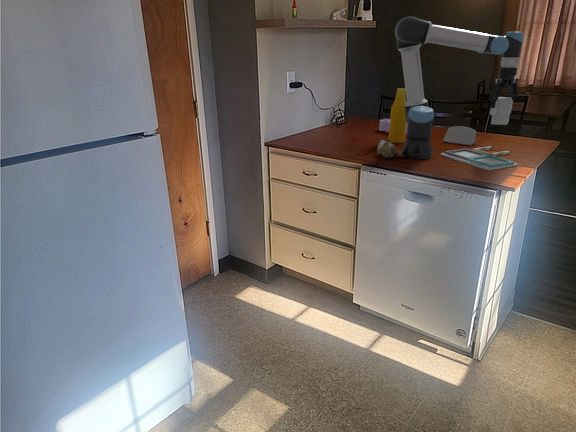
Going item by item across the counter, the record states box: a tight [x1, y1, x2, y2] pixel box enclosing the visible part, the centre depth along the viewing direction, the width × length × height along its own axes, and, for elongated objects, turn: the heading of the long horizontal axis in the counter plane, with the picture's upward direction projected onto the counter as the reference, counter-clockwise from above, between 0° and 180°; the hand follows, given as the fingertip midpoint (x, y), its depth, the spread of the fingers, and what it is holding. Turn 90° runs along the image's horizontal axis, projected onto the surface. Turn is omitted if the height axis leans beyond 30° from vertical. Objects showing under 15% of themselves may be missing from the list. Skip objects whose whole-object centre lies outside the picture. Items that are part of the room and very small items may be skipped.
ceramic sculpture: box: [376, 139, 404, 159], centre depth 215 cm, size 11×9×15 cm
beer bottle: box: [387, 87, 407, 144], centre depth 242 cm, size 9×9×29 cm
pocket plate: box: [440, 148, 519, 172], centre depth 209 cm, size 18×30×2 cm, turn 25°
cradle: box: [471, 145, 511, 157], centre depth 222 cm, size 13×12×2 cm
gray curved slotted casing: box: [443, 125, 477, 146], centre depth 244 cm, size 17×5×10 cm, turn 50°
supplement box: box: [490, 96, 512, 126], centre depth 216 cm, size 7×7×13 cm
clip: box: [378, 118, 408, 136], centre depth 271 cm, size 20×12×7 cm, turn 45°
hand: (500, 114), depth 216 cm, fingers closed on supplement box, 10 cm apart
